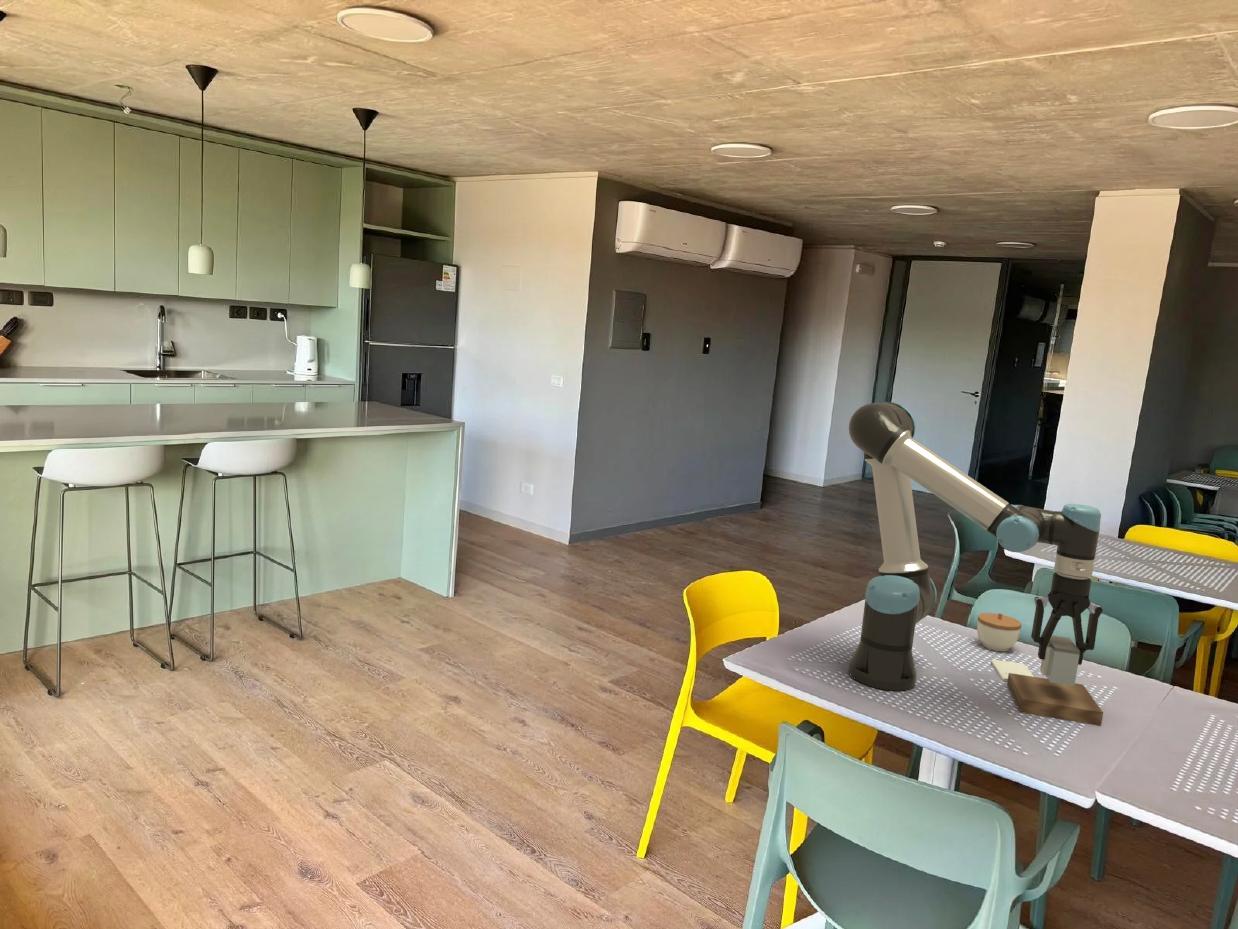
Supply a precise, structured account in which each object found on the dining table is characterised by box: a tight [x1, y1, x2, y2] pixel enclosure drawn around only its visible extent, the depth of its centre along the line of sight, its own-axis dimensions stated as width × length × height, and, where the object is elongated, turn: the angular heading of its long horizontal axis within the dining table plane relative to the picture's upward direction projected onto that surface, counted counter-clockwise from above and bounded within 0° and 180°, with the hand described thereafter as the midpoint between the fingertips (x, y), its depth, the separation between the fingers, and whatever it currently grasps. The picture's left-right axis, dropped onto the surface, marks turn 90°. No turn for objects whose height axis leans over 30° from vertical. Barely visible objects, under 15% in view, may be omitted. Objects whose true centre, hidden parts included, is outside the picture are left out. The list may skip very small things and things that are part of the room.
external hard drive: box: [990, 659, 1035, 683], centre depth 209 cm, size 2×8×12 cm
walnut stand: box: [1006, 673, 1104, 726], centre depth 192 cm, size 16×16×3 cm
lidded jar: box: [976, 612, 1022, 652], centre depth 228 cm, size 11×11×9 cm
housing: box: [1041, 635, 1080, 686], centre depth 191 cm, size 5×9×8 cm, turn 166°
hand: (1057, 675), depth 191 cm, fingers closed on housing, 5 cm apart
